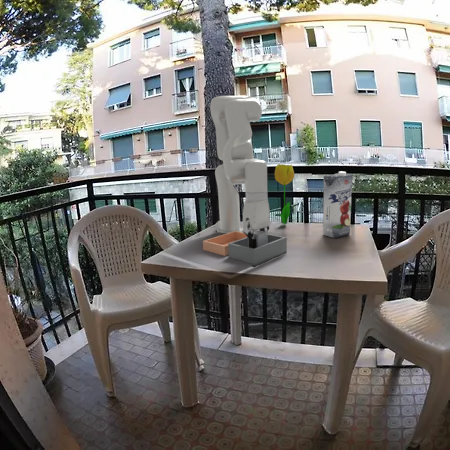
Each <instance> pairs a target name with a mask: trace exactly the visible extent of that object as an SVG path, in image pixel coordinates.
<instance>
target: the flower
mask: <svg viewBox="0 0 450 450" xmlns="http://www.w3.org/2000/svg"><path fill="white" fill-rule="evenodd" d="M294 178H295V171H294V168H293V164H290V165H289V164H287V165H286V164H284V163H283V164H282V163H281V164H277V165H276V166H275V170H274V179H275V181H276V182H278V183H279V184H281V185H282V186H283V193H284V194H283V202H284V203H283V208H282V211H281V213H280V212H279V213H278V214H279V215H280V219H281V223H282V224H283V225H286V224H288V219H289V217H290V213H291V206H290V205H291V202H290V201H288V202H287V203H286V186H287V185H288V184H290V183H291V182H292V181H293V180H294Z"/></svg>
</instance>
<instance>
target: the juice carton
mask: <svg viewBox="0 0 450 450" xmlns="http://www.w3.org/2000/svg"><path fill="white" fill-rule="evenodd" d="M353 179H354V174H351V173H347V172H346V171H342V170H341V171H338V172H337V173H334V174H330V175H329V174H327V175H326V174H325V175H323V204H322V205H323V208H322V210H323V211H322V213H323V214H322V216H323V217H322V220H323V221H322V234H323V236H327V237H330V238H333V239H338V238H339V239H340V238H343V237H346V236H350V234H351V216H352V215H351V214H352V194H353V193H352V192H353V190H352V189H353Z"/></svg>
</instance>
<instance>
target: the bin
mask: <svg viewBox="0 0 450 450" xmlns="http://www.w3.org/2000/svg"><path fill="white" fill-rule="evenodd" d="M287 240H288V238H287V237H286V236H281V235H276V234H271V233H268V244H265V245H263V246H260V247H257V248H255V249H253V248H249V247H248V238H247V237H246V238H243V239H240V240H237V241H234V242H231V243H228V249H229V255H228V258H230V259H234V260H237V261H241V262H245V263H249V264H252V265H251V267H253V268H255V267H258V266H261V265H263V264H266V263H267V262H269V261H272V260H274V259H277V258H279V257H282V256H283V255H286V254H287V248H288V247H287V244H288V243H287Z"/></svg>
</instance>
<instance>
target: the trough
mask: <svg viewBox="0 0 450 450" xmlns="http://www.w3.org/2000/svg"><path fill="white" fill-rule="evenodd" d="M246 237H247V236H246V235H245V234H244V233H243V232H242V231H241V232H238V231H233V232H230V233H223V234H221V235H217V236H214V237H211V238H208V239H205V240H202V248H203V249H202V250H203V251H206V252H210V253H213V254H217V255H220V256H222V257H223V256H229V249H228V243H231V242H234V241H237V240H240V239H243V238H246Z"/></svg>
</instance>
